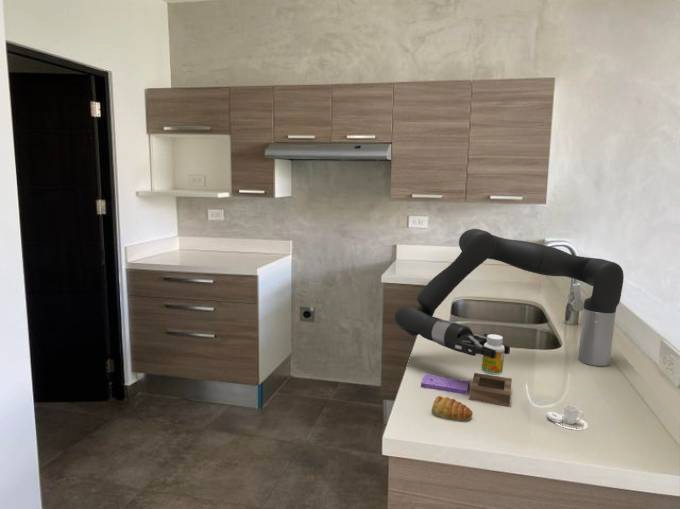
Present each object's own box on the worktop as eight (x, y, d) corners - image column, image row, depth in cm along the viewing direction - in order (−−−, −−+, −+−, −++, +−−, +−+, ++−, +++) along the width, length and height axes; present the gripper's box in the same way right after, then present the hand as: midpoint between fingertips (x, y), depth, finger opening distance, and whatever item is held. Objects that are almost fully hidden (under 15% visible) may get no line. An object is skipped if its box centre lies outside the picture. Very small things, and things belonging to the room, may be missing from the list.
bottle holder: (473, 382, 145) (474, 372, 145) (510, 388, 142) (511, 378, 141) (469, 399, 134) (470, 388, 134) (509, 406, 131) (510, 395, 130)
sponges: (424, 379, 148) (424, 373, 147) (469, 386, 144) (469, 380, 143) (420, 388, 141) (420, 382, 141) (466, 396, 137) (467, 389, 137)
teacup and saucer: (542, 421, 124) (544, 405, 123) (556, 412, 129) (558, 396, 129) (580, 435, 118) (581, 418, 117) (593, 424, 123) (594, 408, 123)
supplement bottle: (478, 371, 137) (481, 336, 135) (486, 366, 141) (489, 332, 139) (497, 377, 133) (501, 341, 132) (505, 371, 138) (508, 336, 136)
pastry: (475, 415, 126) (476, 400, 125) (467, 426, 120) (468, 410, 119) (438, 405, 130) (439, 391, 130) (428, 416, 124) (429, 401, 124)
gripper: (435, 326, 142) (486, 343, 129) (468, 319, 151) (519, 334, 138) (433, 352, 143) (484, 372, 130) (466, 343, 152) (516, 361, 139)
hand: (502, 352), depth 134 cm, fingers closed on supplement bottle, 5 cm apart
